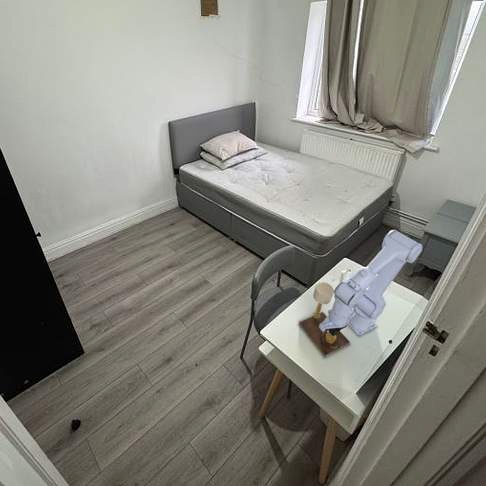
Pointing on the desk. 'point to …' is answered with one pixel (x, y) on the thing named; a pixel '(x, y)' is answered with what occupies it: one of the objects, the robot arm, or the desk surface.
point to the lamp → (322, 296)
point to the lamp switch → (330, 338)
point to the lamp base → (322, 335)
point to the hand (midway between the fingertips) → (332, 333)
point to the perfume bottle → (345, 275)
